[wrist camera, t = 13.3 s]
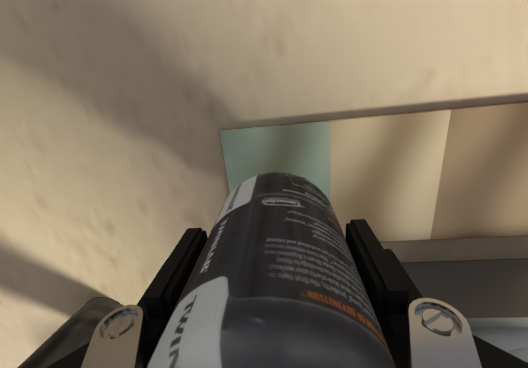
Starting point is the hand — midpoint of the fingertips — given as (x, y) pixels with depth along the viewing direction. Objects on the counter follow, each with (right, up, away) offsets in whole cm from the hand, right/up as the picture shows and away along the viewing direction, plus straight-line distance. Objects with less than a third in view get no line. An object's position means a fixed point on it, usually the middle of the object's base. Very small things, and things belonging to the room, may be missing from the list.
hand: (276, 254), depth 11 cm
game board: (+8, +3, +6) cm, 10 cm away
